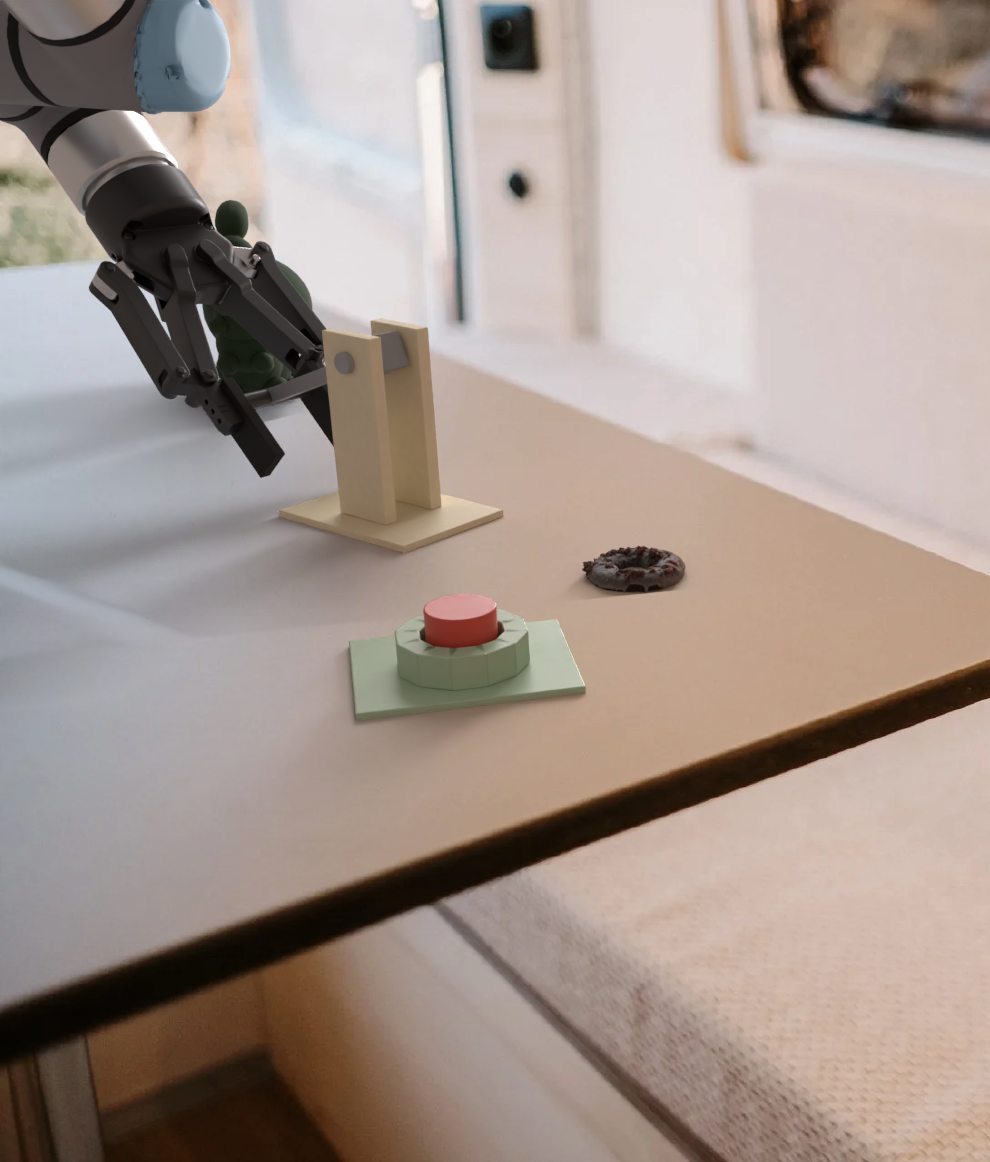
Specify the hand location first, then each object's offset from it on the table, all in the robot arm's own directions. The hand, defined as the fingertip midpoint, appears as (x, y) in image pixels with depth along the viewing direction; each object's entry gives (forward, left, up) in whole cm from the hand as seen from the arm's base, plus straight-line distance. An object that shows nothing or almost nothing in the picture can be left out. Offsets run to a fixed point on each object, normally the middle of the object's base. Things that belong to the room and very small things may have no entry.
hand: (312, 454), depth 103 cm
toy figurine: (-4, +36, -4) cm, 36 cm away
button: (+7, -34, 0) cm, 35 cm away
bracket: (+5, -6, -4) cm, 9 cm away
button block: (+7, -34, -4) cm, 35 cm away
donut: (+19, -21, -4) cm, 29 cm away
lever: (+2, -2, +5) cm, 6 cm away
